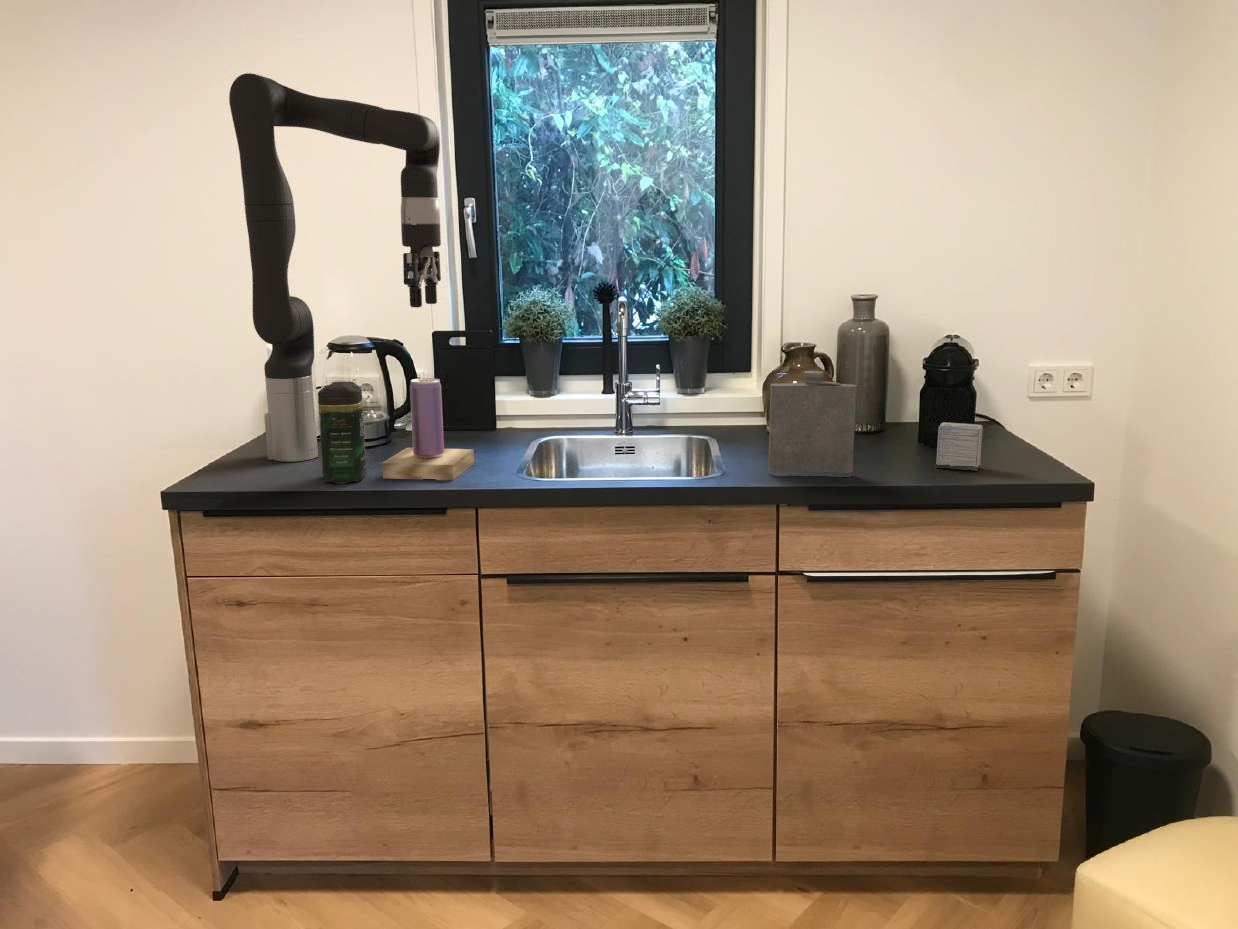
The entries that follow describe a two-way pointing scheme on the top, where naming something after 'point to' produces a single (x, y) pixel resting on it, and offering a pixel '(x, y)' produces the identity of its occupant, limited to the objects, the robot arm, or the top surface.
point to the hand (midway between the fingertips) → (423, 305)
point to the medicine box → (959, 444)
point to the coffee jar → (342, 432)
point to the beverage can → (427, 418)
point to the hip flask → (811, 426)
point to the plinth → (428, 465)
